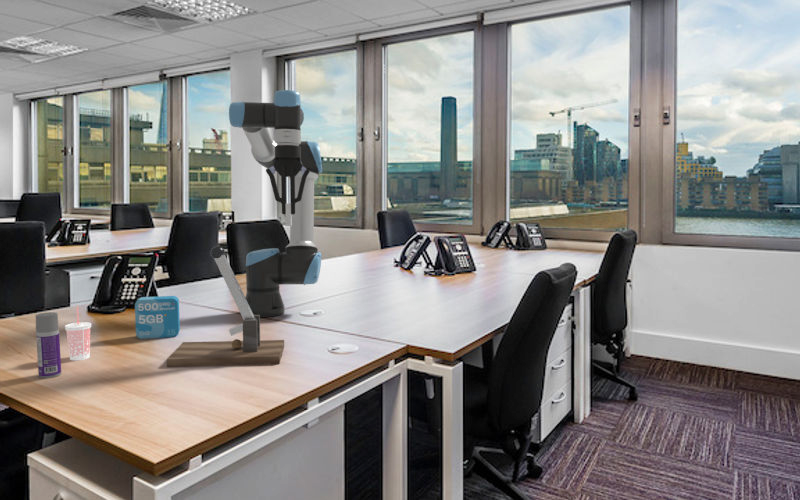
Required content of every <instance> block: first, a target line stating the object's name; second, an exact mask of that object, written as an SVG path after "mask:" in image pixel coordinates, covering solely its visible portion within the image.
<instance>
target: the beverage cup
mask: <svg viewBox="0 0 800 500" xmlns="http://www.w3.org/2000/svg"><path fill="white" fill-rule="evenodd" d="M75 309H76V310H75V311H76V322H72V323H68V324H65V325H64V330H65V331H66V337H67V338H66V339H67V345H68V346H67V347H68V354H69V359H70V361H83V360H87V359H90V357H91V354H90V353H91V328H92V323H91V322H88V321H87V322H86V321H80V315H79V314H80V313H79V306H78V305H76V308H75Z"/></svg>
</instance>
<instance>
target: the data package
mask: <svg viewBox="0 0 800 500" xmlns="http://www.w3.org/2000/svg"><path fill="white" fill-rule="evenodd" d="M179 300H180V299H179V297H177V296H176V295H164V296H163V295H162V296H161V295H160V296H141V297H139V298H137V300H136V302H135V304H134V316H135V318H134V321H135V335H136V337H137V338H138V339H141V340H146V339H147V340H148V339H149V338H150V339H163V338H165V337H166V338H174V337H177V336H178V335H179V333H180V329H181V327H180V326H181V325H180V322H181V321H180V301H179Z"/></svg>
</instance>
